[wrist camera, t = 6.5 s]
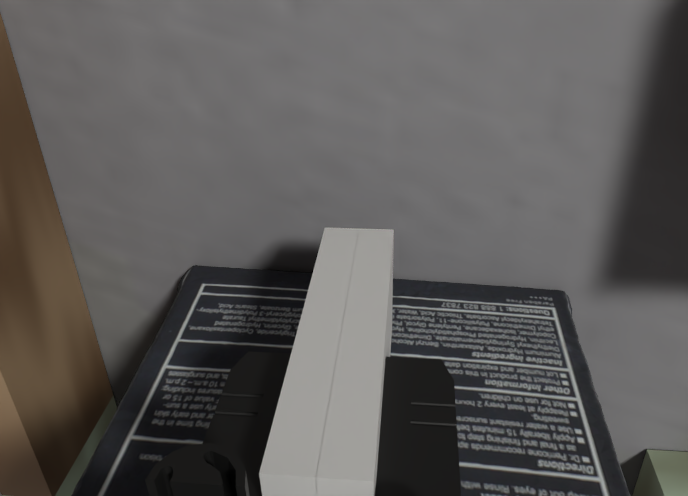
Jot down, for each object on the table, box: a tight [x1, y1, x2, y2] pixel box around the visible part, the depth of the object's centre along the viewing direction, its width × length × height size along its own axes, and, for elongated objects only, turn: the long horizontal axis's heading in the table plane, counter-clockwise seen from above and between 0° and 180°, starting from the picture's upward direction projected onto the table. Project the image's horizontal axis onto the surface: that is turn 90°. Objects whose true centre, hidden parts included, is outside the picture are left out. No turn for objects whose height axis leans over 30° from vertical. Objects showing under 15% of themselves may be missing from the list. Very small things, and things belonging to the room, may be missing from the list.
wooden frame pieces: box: [0, 14, 688, 496], centre depth 16 cm, size 23×34×4 cm
